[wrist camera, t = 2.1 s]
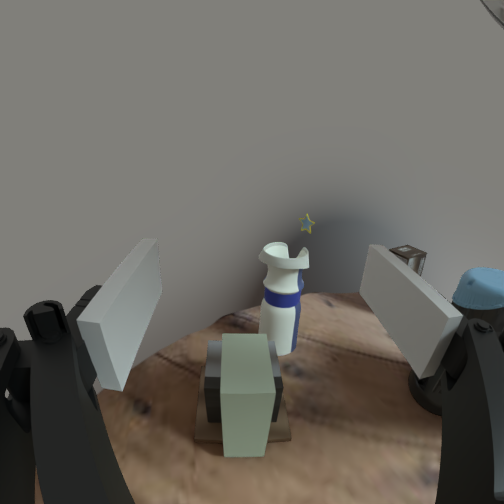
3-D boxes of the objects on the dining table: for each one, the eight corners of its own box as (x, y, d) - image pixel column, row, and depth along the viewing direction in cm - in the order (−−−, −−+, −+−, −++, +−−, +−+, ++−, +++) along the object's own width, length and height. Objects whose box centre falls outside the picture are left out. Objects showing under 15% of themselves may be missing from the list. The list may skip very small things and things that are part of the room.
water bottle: (265, 324, 58) (274, 207, 49) (303, 336, 55) (321, 215, 45) (246, 346, 51) (252, 216, 42) (287, 361, 48) (307, 226, 39)
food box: (393, 299, 69) (407, 243, 63) (410, 309, 64) (427, 252, 58) (373, 308, 65) (388, 248, 59) (392, 320, 60) (410, 258, 54)
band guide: (290, 441, 32) (301, 405, 28) (195, 441, 31) (187, 406, 28) (277, 370, 46) (283, 330, 42) (201, 370, 45) (198, 329, 41)
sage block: (264, 456, 28) (275, 392, 23) (224, 456, 28) (220, 393, 23) (258, 405, 37) (266, 333, 31) (224, 405, 36) (222, 333, 31)
